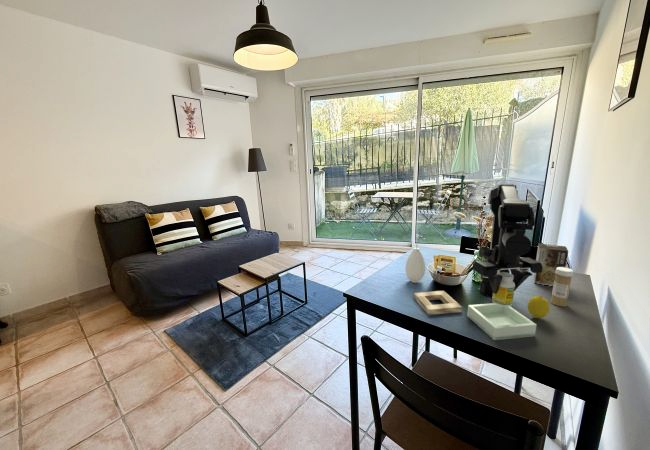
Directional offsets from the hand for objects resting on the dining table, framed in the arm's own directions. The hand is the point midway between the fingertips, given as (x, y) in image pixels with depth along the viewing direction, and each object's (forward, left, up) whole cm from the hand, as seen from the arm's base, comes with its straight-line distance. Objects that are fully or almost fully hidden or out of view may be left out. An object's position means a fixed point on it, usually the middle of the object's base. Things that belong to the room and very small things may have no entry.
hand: (503, 292), depth 85 cm
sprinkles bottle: (-30, -9, -12) cm, 33 cm away
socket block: (+13, -15, -12) cm, 23 cm away
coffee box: (-40, -24, -12) cm, 48 cm away
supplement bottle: (0, 0, -4) cm, 4 cm away
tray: (0, 0, -12) cm, 12 cm away
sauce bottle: (+13, -34, -12) cm, 38 cm away
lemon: (-15, -2, -12) cm, 19 cm away
